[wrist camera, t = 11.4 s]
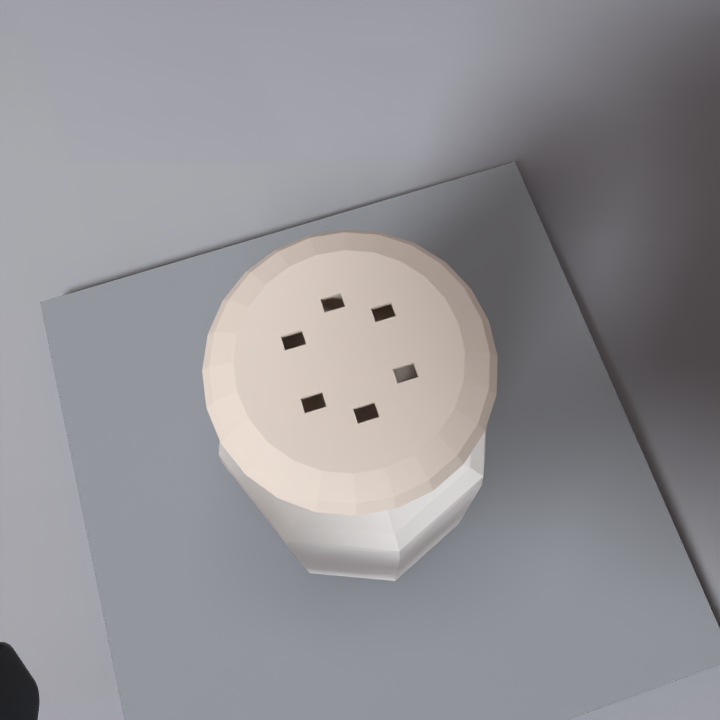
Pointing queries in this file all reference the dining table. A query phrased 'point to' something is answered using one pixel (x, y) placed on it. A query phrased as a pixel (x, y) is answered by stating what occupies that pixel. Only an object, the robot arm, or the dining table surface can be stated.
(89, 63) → the dining table surface
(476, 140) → the dining table surface
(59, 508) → the dining table surface
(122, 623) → the slate grey mat
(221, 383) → the pepper shaker
